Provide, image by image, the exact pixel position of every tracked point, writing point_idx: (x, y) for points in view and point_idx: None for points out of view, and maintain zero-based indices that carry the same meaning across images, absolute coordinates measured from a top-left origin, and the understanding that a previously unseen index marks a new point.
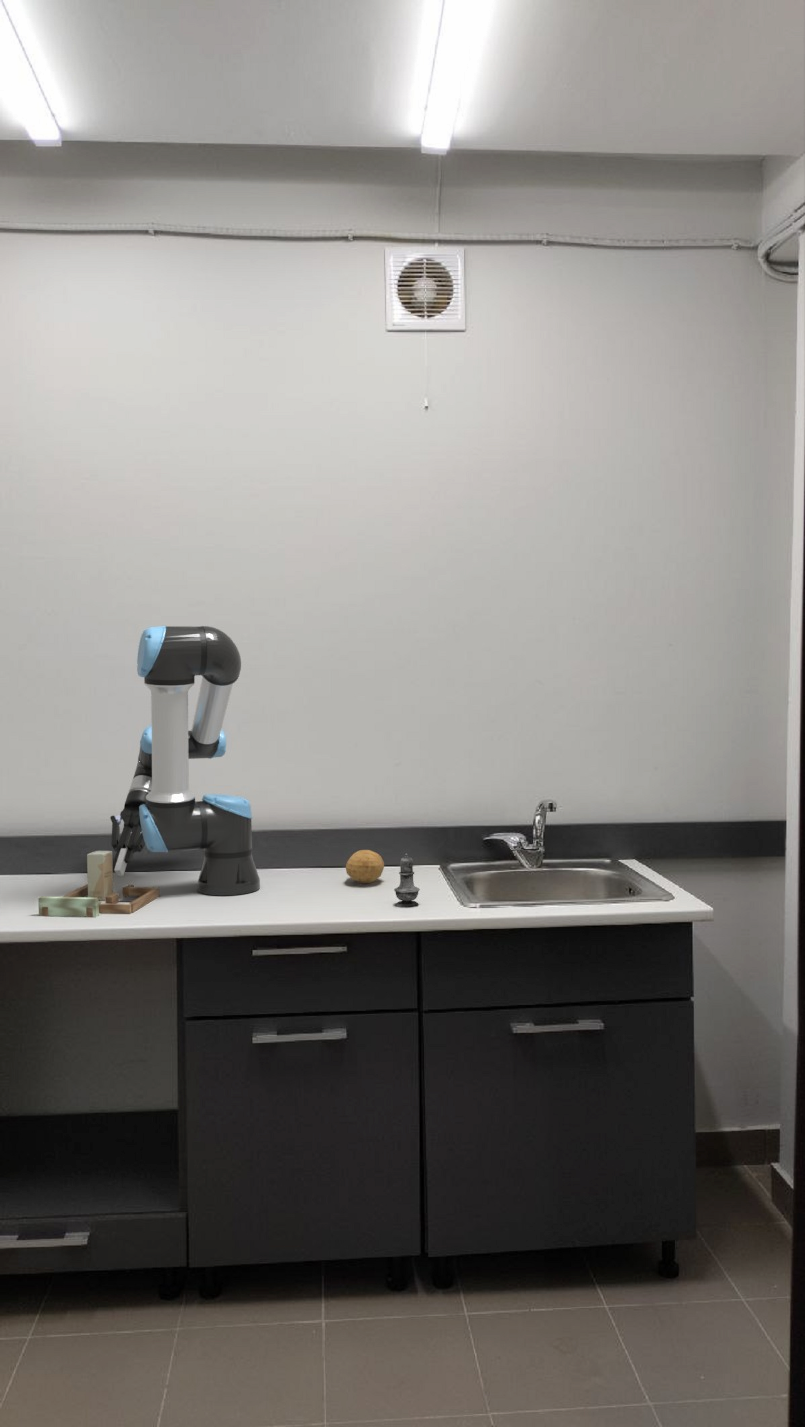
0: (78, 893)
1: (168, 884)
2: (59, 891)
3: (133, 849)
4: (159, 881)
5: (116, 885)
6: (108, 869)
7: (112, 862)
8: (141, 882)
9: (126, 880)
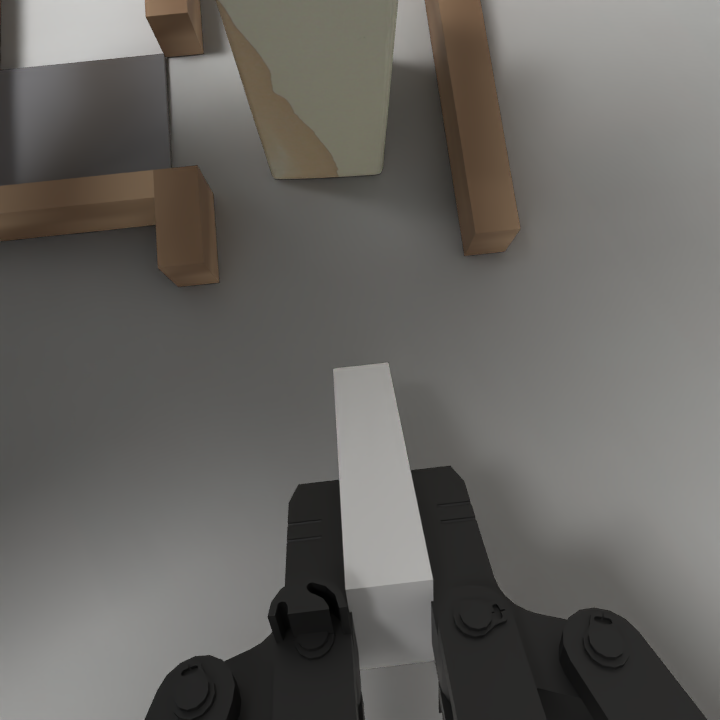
0: (439, 24)
1: (47, 602)
2: (703, 234)
3: (265, 645)
4: None
5: None
6: None
7: (216, 1)
8: None
9: None
